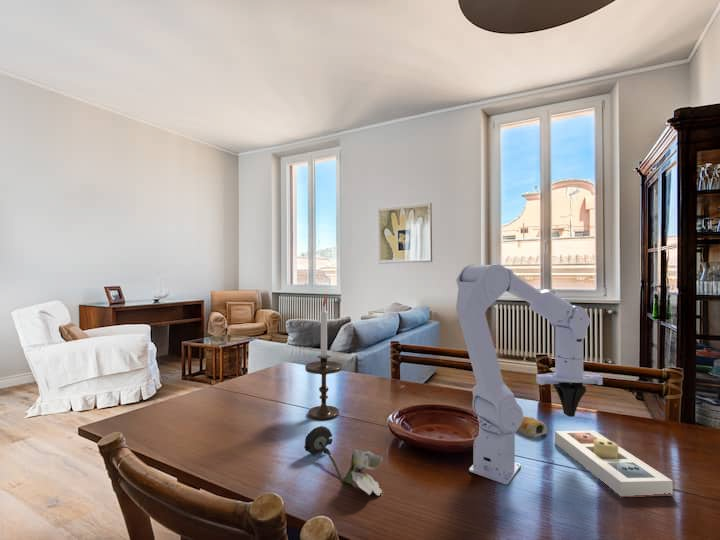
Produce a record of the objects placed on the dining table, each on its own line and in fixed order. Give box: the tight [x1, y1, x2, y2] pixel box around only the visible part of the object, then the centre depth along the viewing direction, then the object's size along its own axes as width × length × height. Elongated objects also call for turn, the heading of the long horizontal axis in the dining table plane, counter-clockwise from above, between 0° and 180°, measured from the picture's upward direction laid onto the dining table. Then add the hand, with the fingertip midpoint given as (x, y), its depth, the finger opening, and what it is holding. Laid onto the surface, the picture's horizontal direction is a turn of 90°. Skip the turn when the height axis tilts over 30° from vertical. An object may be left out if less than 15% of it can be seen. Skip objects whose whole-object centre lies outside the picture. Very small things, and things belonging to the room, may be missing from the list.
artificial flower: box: [304, 425, 383, 496], centre depth 78 cm, size 9×22×10 cm, turn 32°
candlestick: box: [305, 296, 343, 421], centre depth 110 cm, size 11×11×35 cm
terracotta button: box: [574, 433, 596, 444], centre depth 87 cm, size 4×4×3 cm
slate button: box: [617, 463, 645, 478], centre depth 73 cm, size 4×4×3 cm
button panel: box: [554, 430, 674, 496], centre depth 80 cm, size 22×10×3 cm, turn 2°
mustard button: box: [594, 439, 619, 459], centre depth 80 cm, size 4×4×3 cm
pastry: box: [517, 416, 548, 438], centre depth 99 cm, size 9×7×4 cm
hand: (569, 415), depth 86 cm, fingers closed
